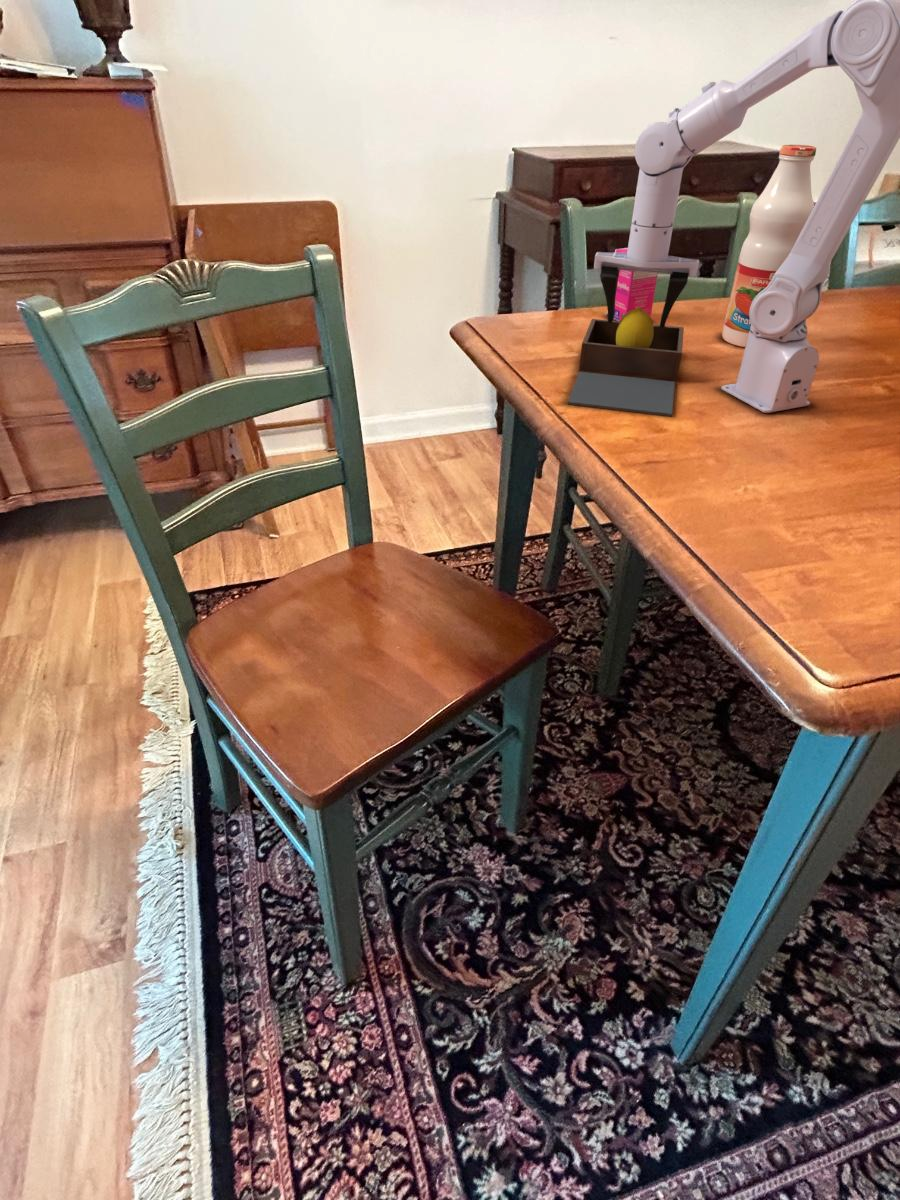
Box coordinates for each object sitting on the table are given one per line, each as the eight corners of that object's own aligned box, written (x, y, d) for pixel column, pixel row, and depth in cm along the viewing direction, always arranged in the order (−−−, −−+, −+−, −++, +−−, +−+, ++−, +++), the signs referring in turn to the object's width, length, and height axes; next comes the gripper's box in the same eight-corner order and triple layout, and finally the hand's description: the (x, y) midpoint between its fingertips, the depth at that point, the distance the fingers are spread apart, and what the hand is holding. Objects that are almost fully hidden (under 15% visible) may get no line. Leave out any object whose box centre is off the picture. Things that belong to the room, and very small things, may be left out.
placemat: (674, 384, 109) (675, 381, 108) (671, 416, 99) (672, 413, 99) (579, 374, 111) (579, 371, 111) (567, 404, 102) (567, 401, 102)
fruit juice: (772, 332, 128) (824, 143, 111) (785, 351, 120) (842, 151, 103) (716, 330, 129) (759, 141, 112) (725, 348, 121) (772, 149, 104)
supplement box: (604, 316, 134) (614, 248, 127) (631, 312, 136) (642, 245, 129) (623, 326, 130) (634, 255, 123) (651, 321, 132) (663, 252, 125)
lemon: (646, 355, 117) (655, 303, 112) (650, 367, 113) (659, 313, 108) (611, 353, 118) (618, 301, 113) (613, 366, 113) (621, 312, 108)
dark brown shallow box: (678, 354, 119) (684, 327, 116) (676, 382, 109) (682, 353, 107) (588, 345, 122) (591, 318, 119) (578, 371, 112) (581, 343, 110)
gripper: (706, 221, 105) (686, 319, 113) (603, 214, 108) (591, 310, 116) (706, 231, 100) (685, 333, 108) (597, 224, 103) (585, 324, 111)
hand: (636, 322), depth 112 cm, fingers open, 7 cm apart
